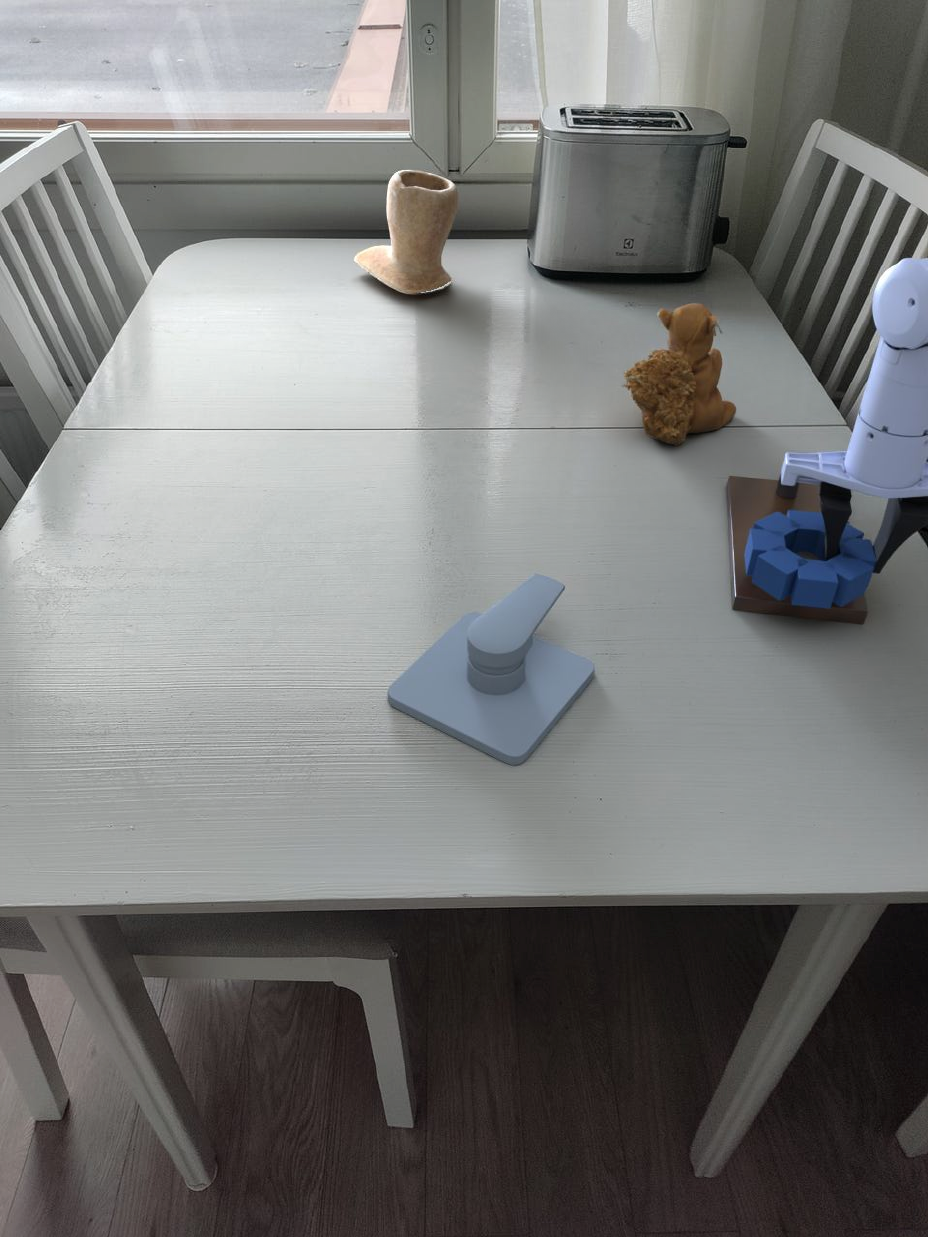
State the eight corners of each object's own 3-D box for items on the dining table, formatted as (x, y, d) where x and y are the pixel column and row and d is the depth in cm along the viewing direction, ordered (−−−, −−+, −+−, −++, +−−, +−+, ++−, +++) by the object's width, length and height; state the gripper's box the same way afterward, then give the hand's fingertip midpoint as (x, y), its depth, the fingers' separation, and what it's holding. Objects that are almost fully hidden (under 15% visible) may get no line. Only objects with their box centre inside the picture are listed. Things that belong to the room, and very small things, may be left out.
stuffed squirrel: (739, 413, 110) (762, 301, 102) (688, 466, 101) (708, 348, 93) (660, 390, 115) (675, 281, 106) (604, 439, 106) (616, 325, 97)
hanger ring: (856, 542, 85) (865, 516, 84) (874, 613, 78) (884, 586, 76) (741, 531, 87) (747, 505, 85) (748, 600, 79) (755, 574, 77)
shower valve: (620, 602, 75) (521, 717, 66) (613, 654, 79) (518, 769, 69) (487, 550, 81) (378, 649, 71) (486, 601, 84) (382, 701, 75)
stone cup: (473, 289, 139) (474, 180, 129) (401, 306, 134) (396, 194, 124) (421, 257, 149) (419, 153, 139) (353, 272, 144) (345, 166, 134)
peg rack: (837, 498, 97) (848, 459, 94) (863, 624, 82) (878, 583, 79) (726, 487, 98) (734, 449, 95) (732, 609, 83) (741, 568, 80)
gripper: (992, 404, 74) (935, 547, 82) (797, 384, 76) (762, 525, 85) (1009, 449, 68) (947, 597, 77) (799, 426, 71) (762, 572, 80)
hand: (851, 563), depth 81 cm, fingers closed on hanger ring, 3 cm apart
